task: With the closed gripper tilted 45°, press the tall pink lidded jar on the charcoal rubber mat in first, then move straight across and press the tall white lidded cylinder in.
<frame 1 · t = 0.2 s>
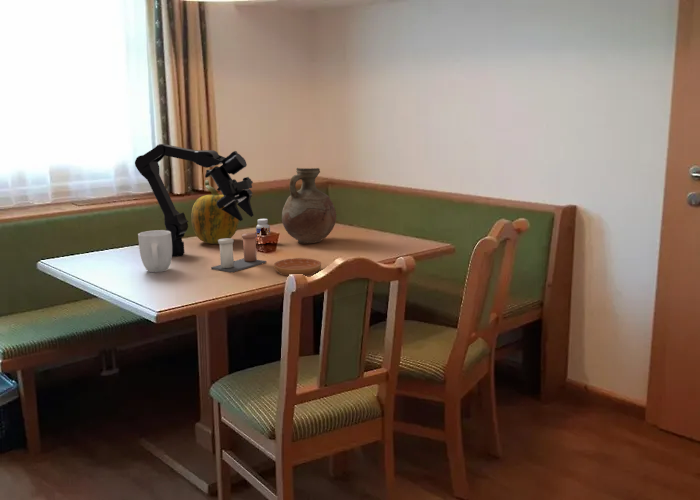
hand: (247, 218, 266), 15 cm above the table, tool tilted 30°, fingers open, 9 cm apart
saucer: (297, 272, 248), on the table
jug: (309, 242, 295), on the table
pumpkin: (216, 243, 298), on the table
pill bottle: (263, 243, 295), on the table
pink lidded jar: (249, 247, 261), point 6 cm above the table, slide at 0.0 cm
white lidded cylinder: (226, 253, 252), point 6 cm above the table, slide at 0.0 cm
mug: (157, 271, 253), on the table
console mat: (239, 265, 258), on the table
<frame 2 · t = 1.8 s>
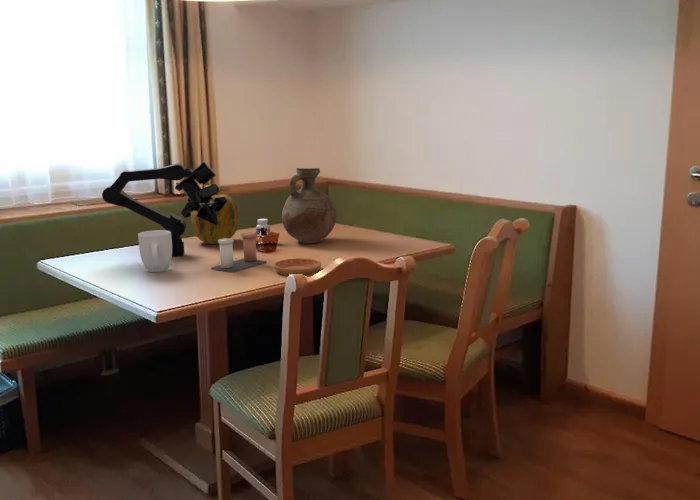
hand: (217, 224, 268), 13 cm above the table, tool tilted 45°, fingers closed
nothing on the table moved.
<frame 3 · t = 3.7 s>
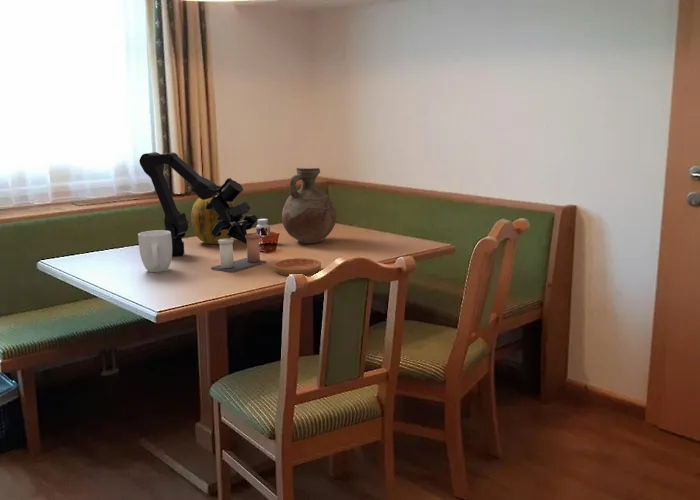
hand: (248, 243, 261), 7 cm above the table, tool tilted 45°, fingers closed, pressing on pink lidded jar
pink lidded jar: (253, 247, 260), point 6 cm above the table, slide at 1.6 cm, touching gripper
everything else where it was.
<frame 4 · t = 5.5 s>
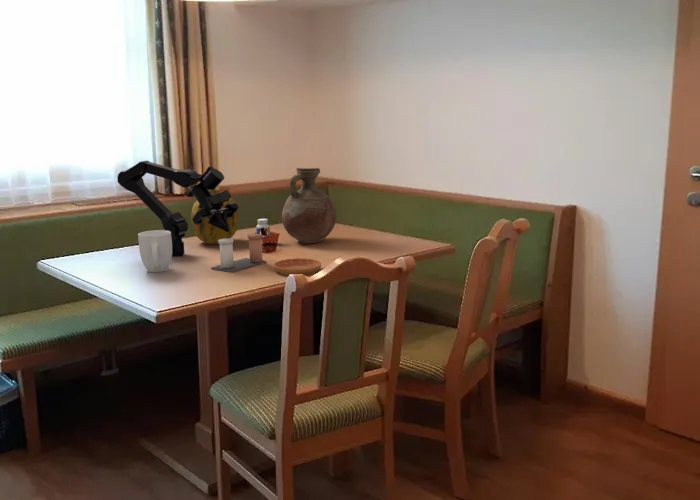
hand: (228, 231, 264), 11 cm above the table, tool tilted 45°, fingers closed
pink lidded jar: (255, 248, 259), point 6 cm above the table, slide at 2.9 cm
everything else where it was.
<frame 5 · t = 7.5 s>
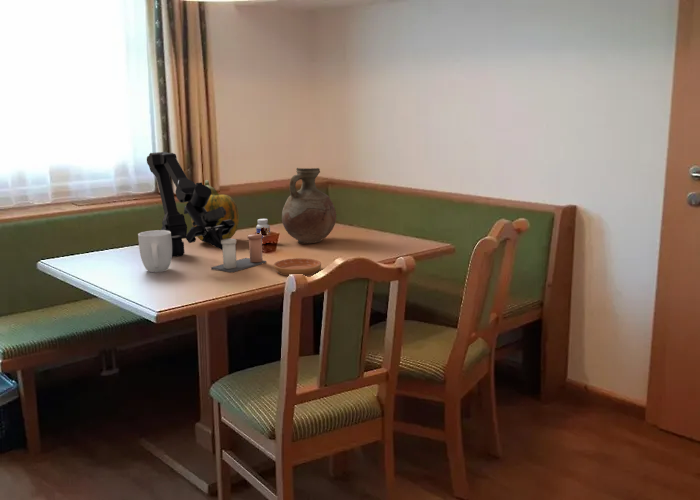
hand: (223, 249, 252), 7 cm above the table, tool tilted 45°, fingers closed, pressing on white lidded cylinder
white lidded cylinder: (229, 253, 251), point 6 cm above the table, slide at 1.4 cm, touching gripper
everything else where it was.
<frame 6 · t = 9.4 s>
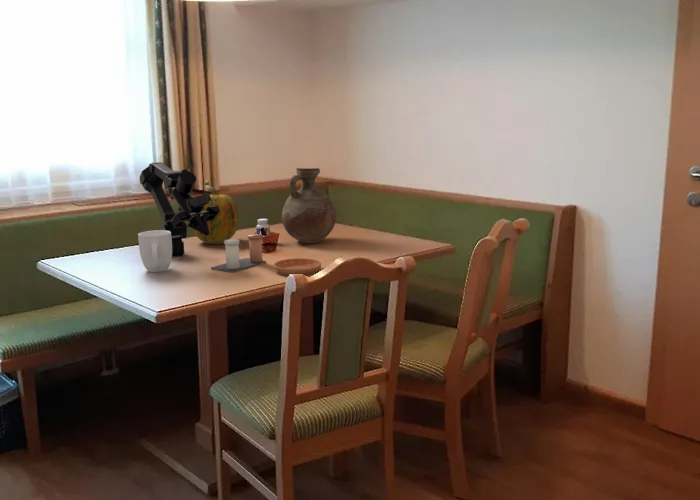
hand: (208, 234, 258), 11 cm above the table, tool tilted 45°, fingers closed
white lidded cylinder: (232, 254, 250), point 6 cm above the table, slide at 2.8 cm
everything else where it was.
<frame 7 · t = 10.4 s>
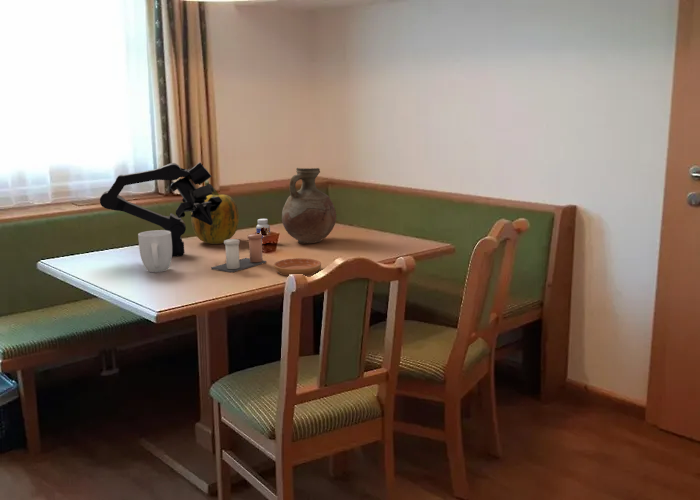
hand: (211, 224, 268), 13 cm above the table, tool tilted 45°, fingers closed
nothing on the table moved.
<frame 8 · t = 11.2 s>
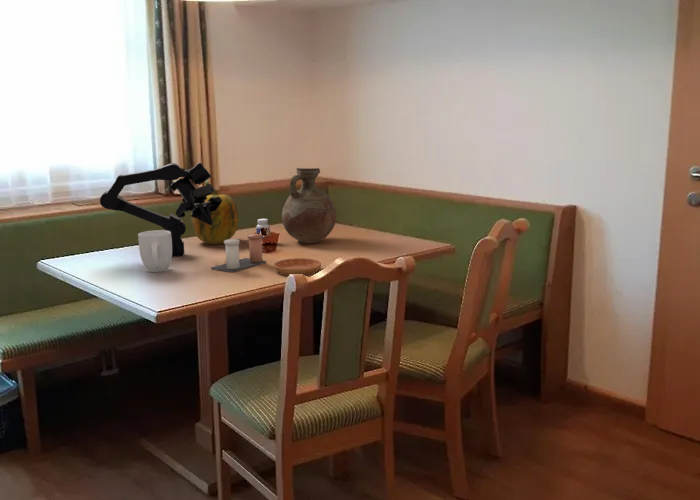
hand: (211, 224, 268), 13 cm above the table, tool tilted 45°, fingers closed
nothing on the table moved.
at the end: pink lidded jar slide at 2.9 cm; white lidded cylinder slide at 2.8 cm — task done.
